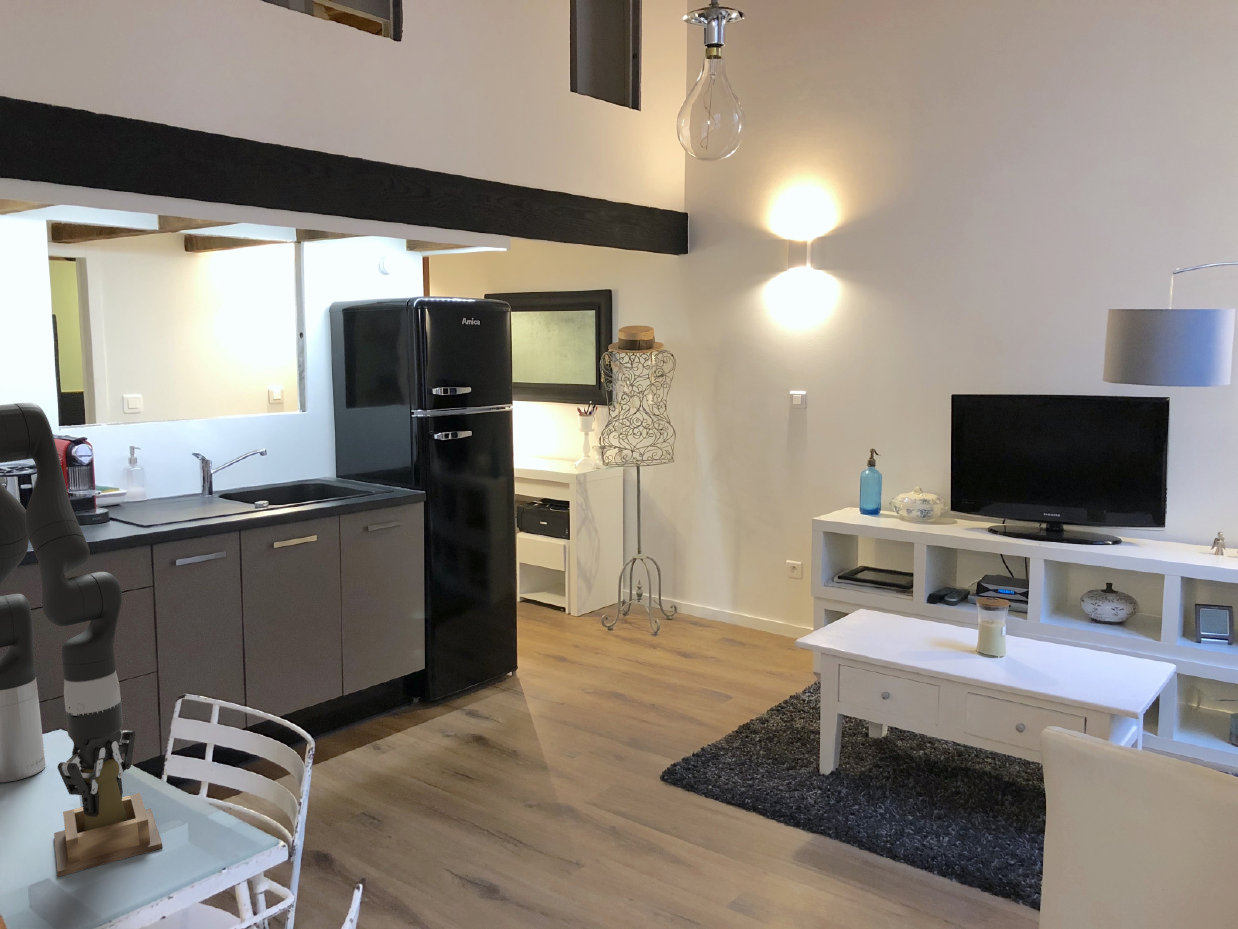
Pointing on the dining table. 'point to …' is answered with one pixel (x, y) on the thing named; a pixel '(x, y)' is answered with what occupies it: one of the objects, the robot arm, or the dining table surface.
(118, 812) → the cork
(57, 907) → the dining table surface
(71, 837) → the shaker caddy
